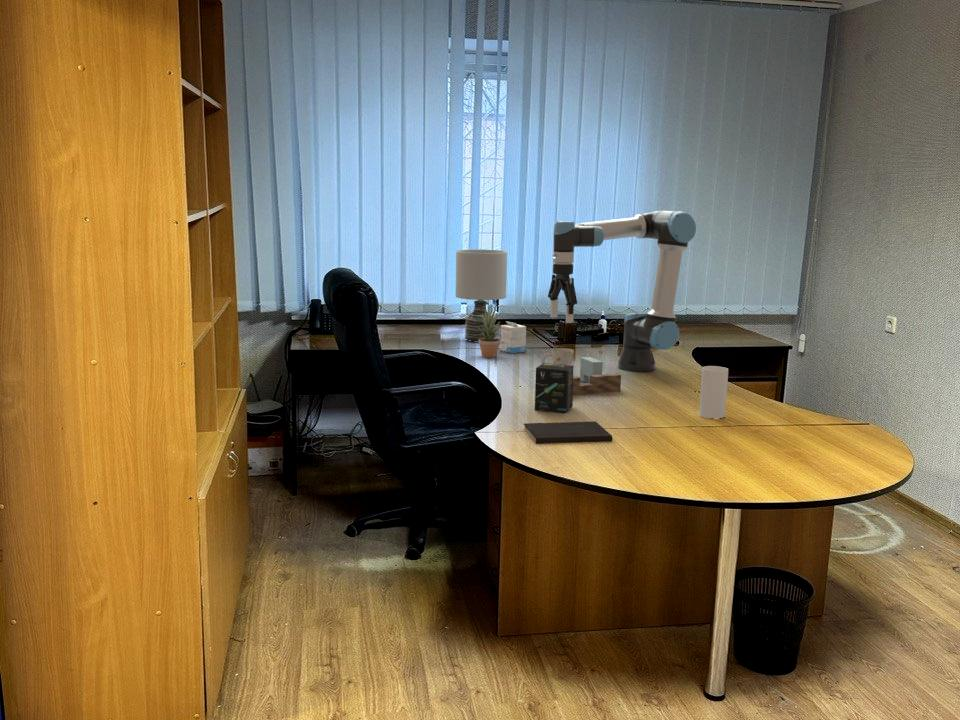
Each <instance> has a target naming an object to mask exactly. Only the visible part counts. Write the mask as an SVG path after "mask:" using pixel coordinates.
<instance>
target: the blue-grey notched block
mask: <svg viewBox="0 0 960 720" xmlns="http://www.w3.org/2000/svg"><path fill="white" fill-rule="evenodd" d="M603 363H604V362H603V361H601V360H599V359H597V358H593V357H591V356H584V357H583V356H582V357H580V365H579V366H580V370H579V372H580V373H579V377H580V382H582V383H590V375H600V374H603V368H604V367H603Z"/></svg>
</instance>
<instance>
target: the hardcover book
mask: <svg viewBox="0 0 960 720" xmlns="http://www.w3.org/2000/svg"><path fill="white" fill-rule="evenodd" d="M523 425H524V431H525V432H526V433H527V434H528V435H529V437H530V438H531V439H532V440H533V441H534V443H535V444H536V445H539V444H540V445H541V444H544V445H545V444H571V443H573V444H574V443H599V442H600V443H603V442H605V443H606V442H607V443H608V442H609V443H610V442H613V435H612V434H611V433H610V432H608V431H607V430H606V429H605V428H604V427H603V426H602V425H601V424H600V423H599V422H597V421H569V422H568V421H565V422H563V421H561V422H528V423H527V422H526V423H523Z"/></svg>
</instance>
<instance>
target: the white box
mask: <svg viewBox="0 0 960 720" xmlns="http://www.w3.org/2000/svg"><path fill="white" fill-rule="evenodd" d="M505 322H506V324H504V325H503V324H502V325H500V351H501V350H502V351H501V352H504V351H505V353H508V352H509V353H510V354H519V353H525V352H527V326H526V325H521V324H517V323H516V322H511V321H507V320H506V321H505ZM518 352H519V353H518Z"/></svg>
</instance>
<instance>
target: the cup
mask: <svg viewBox="0 0 960 720" xmlns="http://www.w3.org/2000/svg"><path fill="white" fill-rule="evenodd" d="M728 380H729V368H727V367H723V366H719V365H718V366H717V365H707V366H706V365H705V366H702V369H701V381H700V382H701V385H700V396H699V397H700V398H699V413H698V416H699V415H700V416H702V417H701V418H703V417H706V418H705V419H707V418H723V417H726V407H727V394H728ZM700 416H699V417H700ZM723 419H724V418H723Z"/></svg>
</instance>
